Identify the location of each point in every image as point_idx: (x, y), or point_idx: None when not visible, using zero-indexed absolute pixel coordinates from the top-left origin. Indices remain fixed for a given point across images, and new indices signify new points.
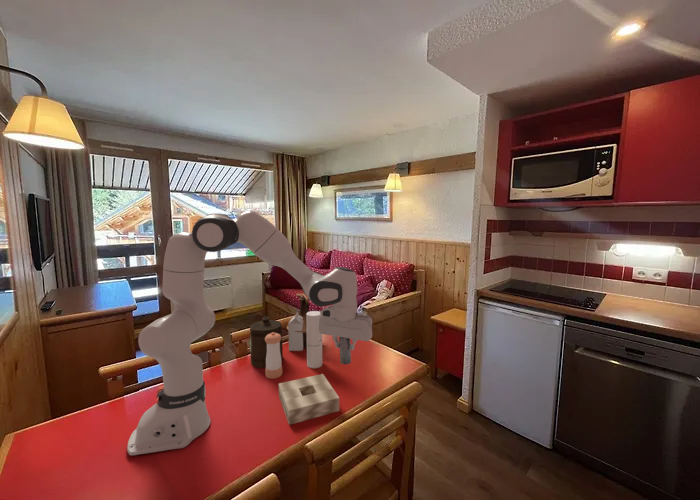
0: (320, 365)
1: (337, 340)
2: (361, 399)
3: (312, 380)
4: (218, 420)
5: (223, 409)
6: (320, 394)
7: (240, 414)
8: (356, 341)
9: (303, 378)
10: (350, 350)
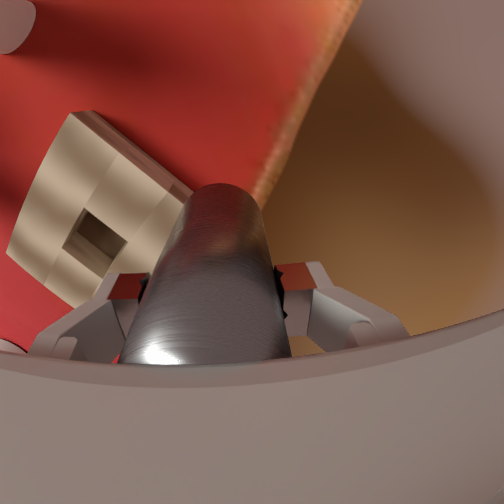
0: (30, 20)
1: (102, 328)
2: (271, 123)
3: (64, 181)
4: (25, 342)
5: (2, 318)
6: (147, 247)
7: (31, 320)
8: (375, 312)
9: (32, 187)
10: (270, 258)
